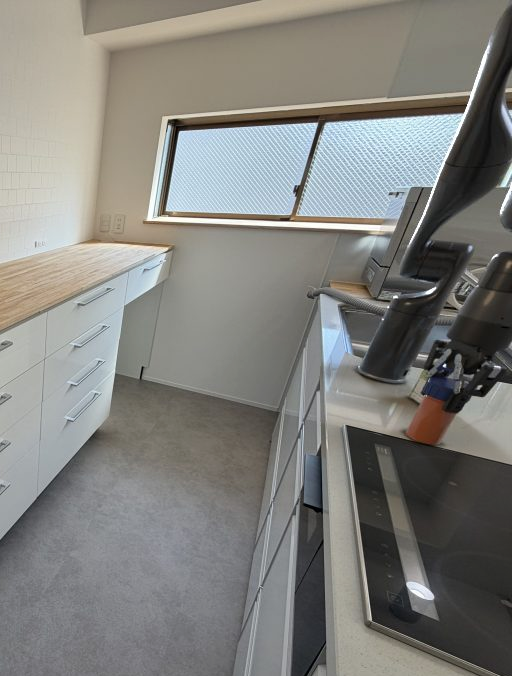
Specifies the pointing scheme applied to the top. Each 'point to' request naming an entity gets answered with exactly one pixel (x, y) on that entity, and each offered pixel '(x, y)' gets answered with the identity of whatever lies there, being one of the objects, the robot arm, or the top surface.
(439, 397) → the jar lid
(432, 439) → the jam jar
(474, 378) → the robot arm
